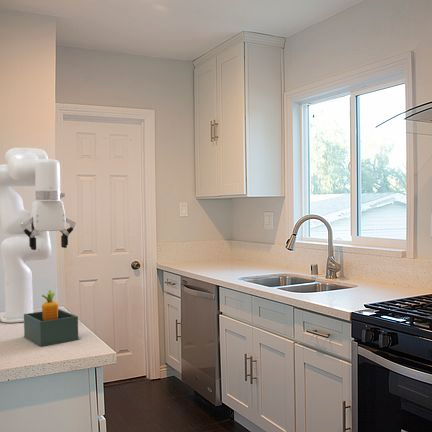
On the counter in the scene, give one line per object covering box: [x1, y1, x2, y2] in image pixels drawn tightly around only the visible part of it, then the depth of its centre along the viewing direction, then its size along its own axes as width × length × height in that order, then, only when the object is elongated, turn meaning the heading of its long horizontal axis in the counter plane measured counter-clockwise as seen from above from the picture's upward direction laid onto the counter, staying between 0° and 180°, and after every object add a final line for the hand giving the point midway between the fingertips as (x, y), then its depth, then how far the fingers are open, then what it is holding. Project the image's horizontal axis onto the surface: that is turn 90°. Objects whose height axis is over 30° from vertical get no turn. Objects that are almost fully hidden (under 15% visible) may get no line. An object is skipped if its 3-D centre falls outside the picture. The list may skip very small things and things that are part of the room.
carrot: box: [41, 289, 59, 321], centre depth 177 cm, size 5×5×15 cm
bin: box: [23, 308, 79, 347], centre depth 177 cm, size 17×12×8 cm
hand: (49, 248), depth 178 cm, fingers open, 9 cm apart
